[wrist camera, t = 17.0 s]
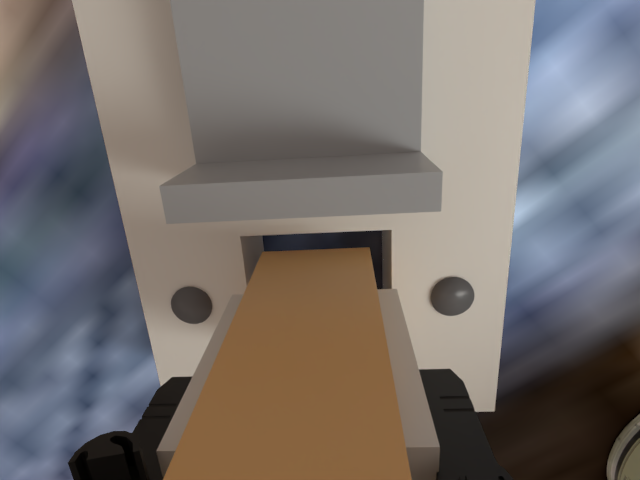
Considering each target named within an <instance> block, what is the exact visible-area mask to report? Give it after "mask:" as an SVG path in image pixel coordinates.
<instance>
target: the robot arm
mask: <svg viewBox="0 0 640 480" xmlns="http://www.w3.org/2000/svg"><path fill="white" fill-rule="evenodd" d="M377 291H378V297H379V302H380V308H381V313H382V319H383V324H384V330H385V335H386V341H387V346H388V352H389V357H390V363H391V368H392V374H393V379H394V384H395V390H396V395H397V401H398V406H399V412H400V417H401V423H402V428H403V434H404V439H405V445H406V450H407V456H408V461H409V467H410V472H411V478H412V480H513V478H512V477H511V476H510V475H509V473H508V472H507V471H506V470H505V469H504V468H503V467H501V466H500V465H498V463H497V461H496V460H495V458H494V455H493V453H492V450H491V448H490V445H489V443H488V440H487V438H486V436H485V433H484V431H483V428H482V426H481V423H480V421H479V418H478V416H477V414H476V411H475V410H474V406H473V404H472V401H471V399H470V398H469V394H468V392H467V389H466V387H465V384H464V382H463V380H462V379H460V378H459V377H458V376H457V375H456V374H455V373H454V372H453V371H452V370H451V369H419V368H418V365H417V361H416V357H415V354H414V350H413V346H412V343H411V339H410V335H409V332H408V328H407V324H406V321H405V317H404V313H403V310H402V306H401V302H400V299H399V295H398V291H397V289H377ZM243 295H244V294H234V295H232V296H231V298H230V300H229V302H228V304H227V306H226V309H225V311H224V313H223V315H222V317H221V319H220V321H219V323H218V325H217V327H216V329H215V331H214V333H213V335H212V337H211V339H210V342H209V344H208V346H207V348H206V350H205V352H204V354H203V356H202V358H201V360H200V362H199V364H198V366H197V368H196V370H195V372H194V374H193V376H191V377H171V378H170V379H169V380H168V381H167V382H166V383H164V384H163V385H162V386H161V387H160V388H159V389H158V390H157V391H156V393H155V395H154V396H153V398H152V400H151V402H150V403H149V407H147V409H146V410H145V412H144V414H143V415H142V419H140V421H139V422H138V424H137V426H136V428H135V429H134V431H133V433H129V432H127V431H113V432H110V433H106V434H103V435H100V436H98V437H96V438H94V439H92V440H90V441H88V442H87V443H85V444H84V445H83V446H82V447H81V448H80V449H78V450H77V451H76V452H75V453H74V455H73V456H72V458H71V459H70V461H69V462H68V465H69V467H70V470H71V473H72V476H73V479H74V480H163V478H164V476H165V474H166V471H167V469H168V467H169V465H170V462H171V460H172V458H173V455H174V453H175V451H176V448H177V446H178V444H179V442H180V439H181V437H182V435H183V432H184V430H185V428H186V426H187V423H188V421H189V419H190V416H191V414H192V412H193V409H194V407H195V405H196V403H197V400H198V398H199V396H200V393H201V391H202V389H203V386H204V384H205V382H206V380H207V377H208V375H209V373H210V370H211V368H212V366H213V364H214V361H215V359H216V357H217V354H218V352H219V350H220V347H221V345H222V343H223V341H224V338H225V336H226V334H227V331H228V329H229V327H230V324H231V322H232V320H233V318H234V315H235V313H236V311H237V308H238V306H239V304H240V302H241V299H242V297H243Z"/></svg>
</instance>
